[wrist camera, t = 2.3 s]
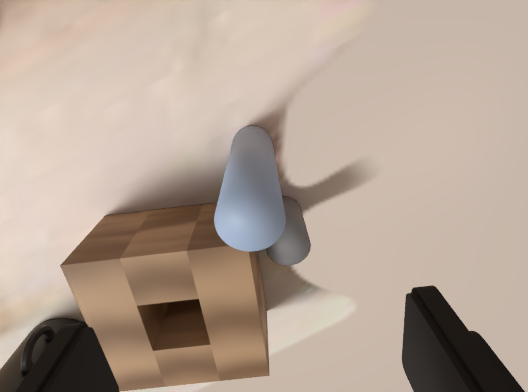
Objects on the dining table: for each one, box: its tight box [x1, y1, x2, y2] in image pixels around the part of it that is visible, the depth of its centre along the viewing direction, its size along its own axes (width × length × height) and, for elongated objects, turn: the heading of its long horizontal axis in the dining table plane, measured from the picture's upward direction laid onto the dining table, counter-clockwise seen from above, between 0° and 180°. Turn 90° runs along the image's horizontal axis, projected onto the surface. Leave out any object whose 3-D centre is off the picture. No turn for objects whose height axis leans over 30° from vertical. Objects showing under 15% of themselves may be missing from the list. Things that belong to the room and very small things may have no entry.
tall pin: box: [214, 126, 286, 252], centre depth 23 cm, size 4×4×14 cm
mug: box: [0, 319, 83, 392], centre depth 34 cm, size 9×12×9 cm
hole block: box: [60, 202, 269, 391], centre depth 31 cm, size 14×14×8 cm
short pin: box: [266, 196, 311, 265], centre depth 30 cm, size 4×4×6 cm
